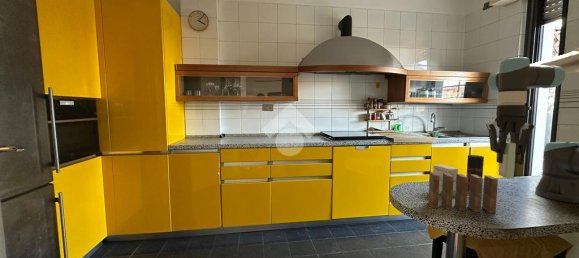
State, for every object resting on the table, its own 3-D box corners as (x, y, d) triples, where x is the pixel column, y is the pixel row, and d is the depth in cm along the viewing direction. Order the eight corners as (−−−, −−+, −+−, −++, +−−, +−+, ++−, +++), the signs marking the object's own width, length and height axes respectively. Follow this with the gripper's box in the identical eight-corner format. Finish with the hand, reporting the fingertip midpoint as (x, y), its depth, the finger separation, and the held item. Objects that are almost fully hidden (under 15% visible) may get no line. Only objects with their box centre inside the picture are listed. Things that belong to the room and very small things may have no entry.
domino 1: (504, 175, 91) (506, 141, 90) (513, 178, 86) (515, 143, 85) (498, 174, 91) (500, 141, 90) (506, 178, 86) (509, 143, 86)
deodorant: (485, 190, 113) (487, 157, 112) (471, 190, 113) (473, 157, 112) (475, 186, 119) (477, 155, 118) (462, 186, 119) (464, 154, 118)
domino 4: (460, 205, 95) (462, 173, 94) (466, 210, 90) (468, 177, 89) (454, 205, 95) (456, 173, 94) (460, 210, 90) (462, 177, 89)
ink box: (457, 197, 104) (459, 168, 104) (447, 197, 103) (449, 169, 103) (441, 190, 113) (442, 164, 112) (431, 191, 112) (432, 164, 111)
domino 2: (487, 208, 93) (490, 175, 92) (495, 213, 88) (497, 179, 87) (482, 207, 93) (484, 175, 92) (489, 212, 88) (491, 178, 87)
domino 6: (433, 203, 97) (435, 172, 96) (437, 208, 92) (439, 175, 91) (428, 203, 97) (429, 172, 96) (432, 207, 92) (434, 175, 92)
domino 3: (473, 206, 94) (475, 174, 93) (480, 212, 89) (482, 178, 88) (468, 206, 94) (470, 174, 93) (474, 211, 89) (476, 177, 88)
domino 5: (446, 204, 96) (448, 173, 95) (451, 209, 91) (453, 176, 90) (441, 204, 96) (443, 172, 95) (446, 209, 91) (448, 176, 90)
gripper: (529, 105, 89) (523, 171, 90) (480, 104, 92) (476, 168, 94) (545, 104, 81) (539, 176, 83) (492, 104, 85) (487, 173, 87)
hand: (505, 172), depth 88 cm, fingers closed on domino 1, 2 cm apart
